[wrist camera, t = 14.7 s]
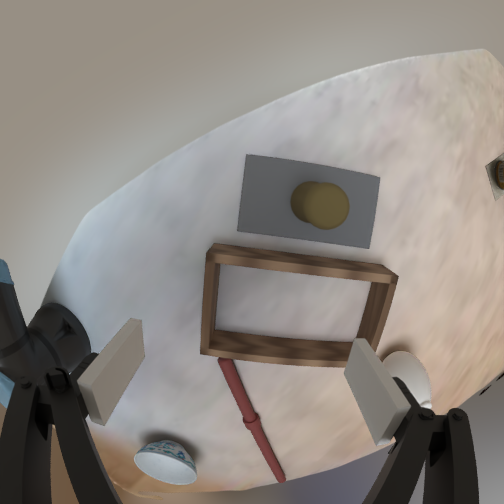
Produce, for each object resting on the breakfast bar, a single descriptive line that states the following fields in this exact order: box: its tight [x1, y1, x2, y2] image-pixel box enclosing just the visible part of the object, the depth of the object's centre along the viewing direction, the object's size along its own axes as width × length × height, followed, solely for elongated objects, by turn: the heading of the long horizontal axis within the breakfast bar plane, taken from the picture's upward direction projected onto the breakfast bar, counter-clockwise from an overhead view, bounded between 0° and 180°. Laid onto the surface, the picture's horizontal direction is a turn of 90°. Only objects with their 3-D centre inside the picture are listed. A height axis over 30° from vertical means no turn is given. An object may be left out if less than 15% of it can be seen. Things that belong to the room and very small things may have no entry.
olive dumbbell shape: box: [290, 181, 350, 230], centre depth 33 cm, size 6×6×11 cm
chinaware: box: [134, 440, 197, 485], centre depth 48 cm, size 15×15×8 cm
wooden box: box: [200, 243, 399, 368], centre depth 39 cm, size 26×15×6 cm, turn 83°
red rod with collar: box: [218, 357, 286, 483], centre depth 48 cm, size 45×3×3 cm, turn 16°
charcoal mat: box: [237, 154, 380, 249], centre depth 38 cm, size 20×11×1 cm, turn 83°
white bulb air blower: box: [382, 351, 432, 409], centre depth 35 cm, size 8×8×18 cm
